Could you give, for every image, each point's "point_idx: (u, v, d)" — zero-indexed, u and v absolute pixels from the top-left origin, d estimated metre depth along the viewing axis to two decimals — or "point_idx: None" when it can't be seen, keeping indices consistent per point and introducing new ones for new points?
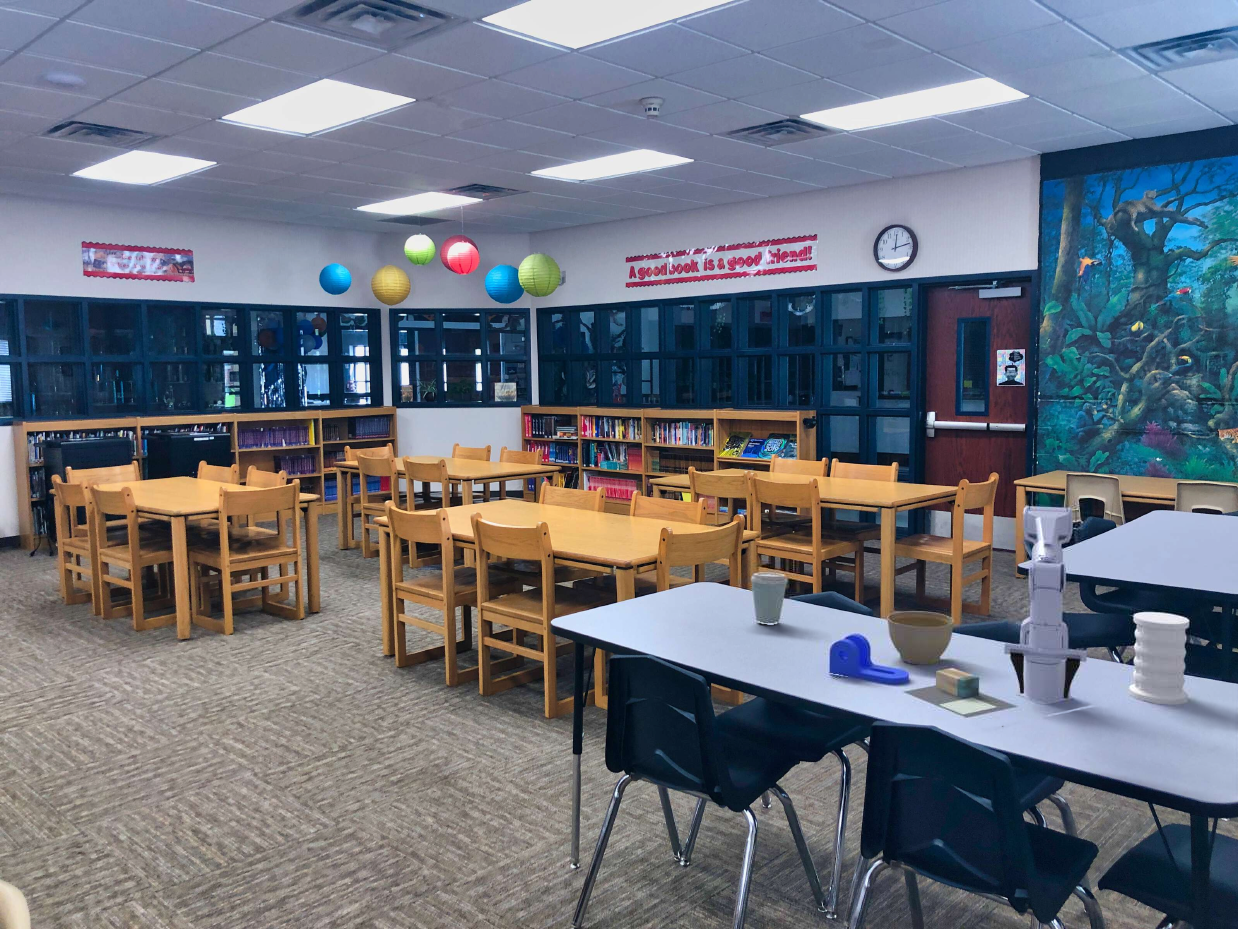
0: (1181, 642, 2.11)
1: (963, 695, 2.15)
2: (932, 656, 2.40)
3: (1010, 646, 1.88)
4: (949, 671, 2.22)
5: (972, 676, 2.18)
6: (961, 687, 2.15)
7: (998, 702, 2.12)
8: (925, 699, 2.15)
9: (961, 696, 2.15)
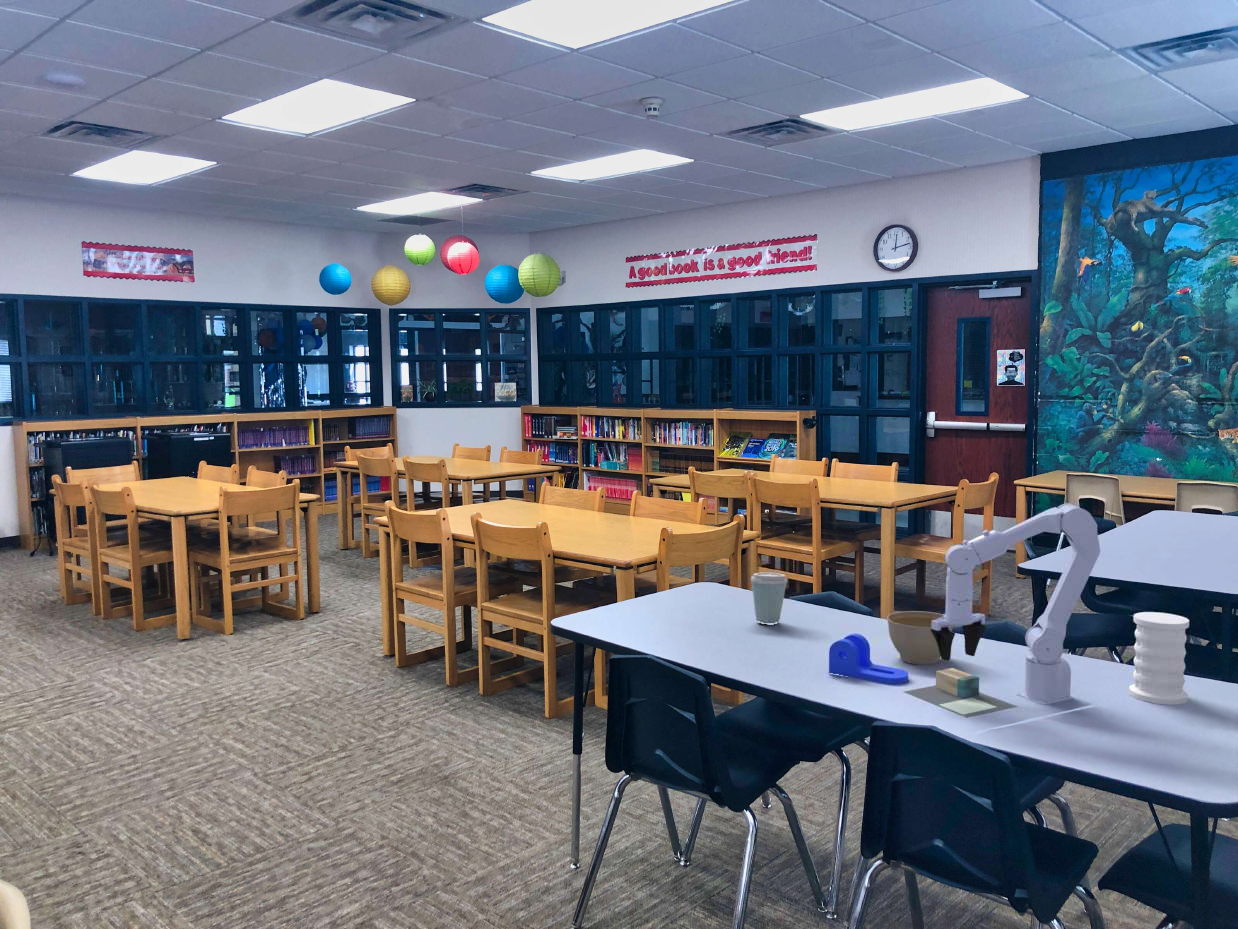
0: (1181, 642, 2.11)
1: (963, 695, 2.15)
2: (932, 656, 2.40)
3: None
4: (949, 671, 2.22)
5: (972, 676, 2.18)
6: (961, 687, 2.15)
7: (998, 702, 2.12)
8: (925, 699, 2.15)
9: (961, 696, 2.15)
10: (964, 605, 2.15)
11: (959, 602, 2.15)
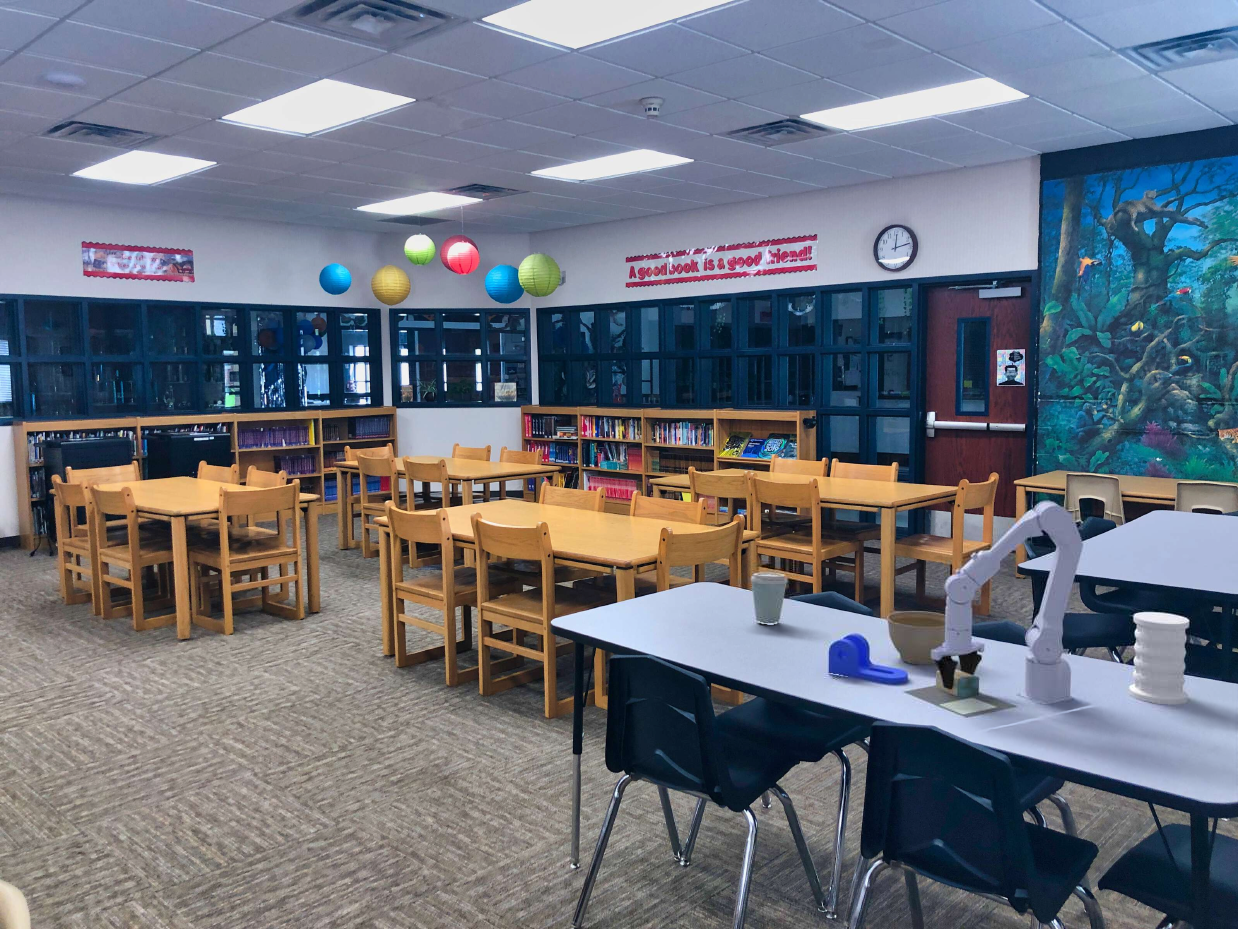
0: (1181, 642, 2.11)
1: (963, 695, 2.15)
2: None
3: None
4: None
5: (972, 676, 2.18)
6: (961, 687, 2.15)
7: (998, 702, 2.12)
8: (925, 699, 2.15)
9: (961, 696, 2.15)
10: (963, 635, 2.16)
11: (958, 632, 2.16)
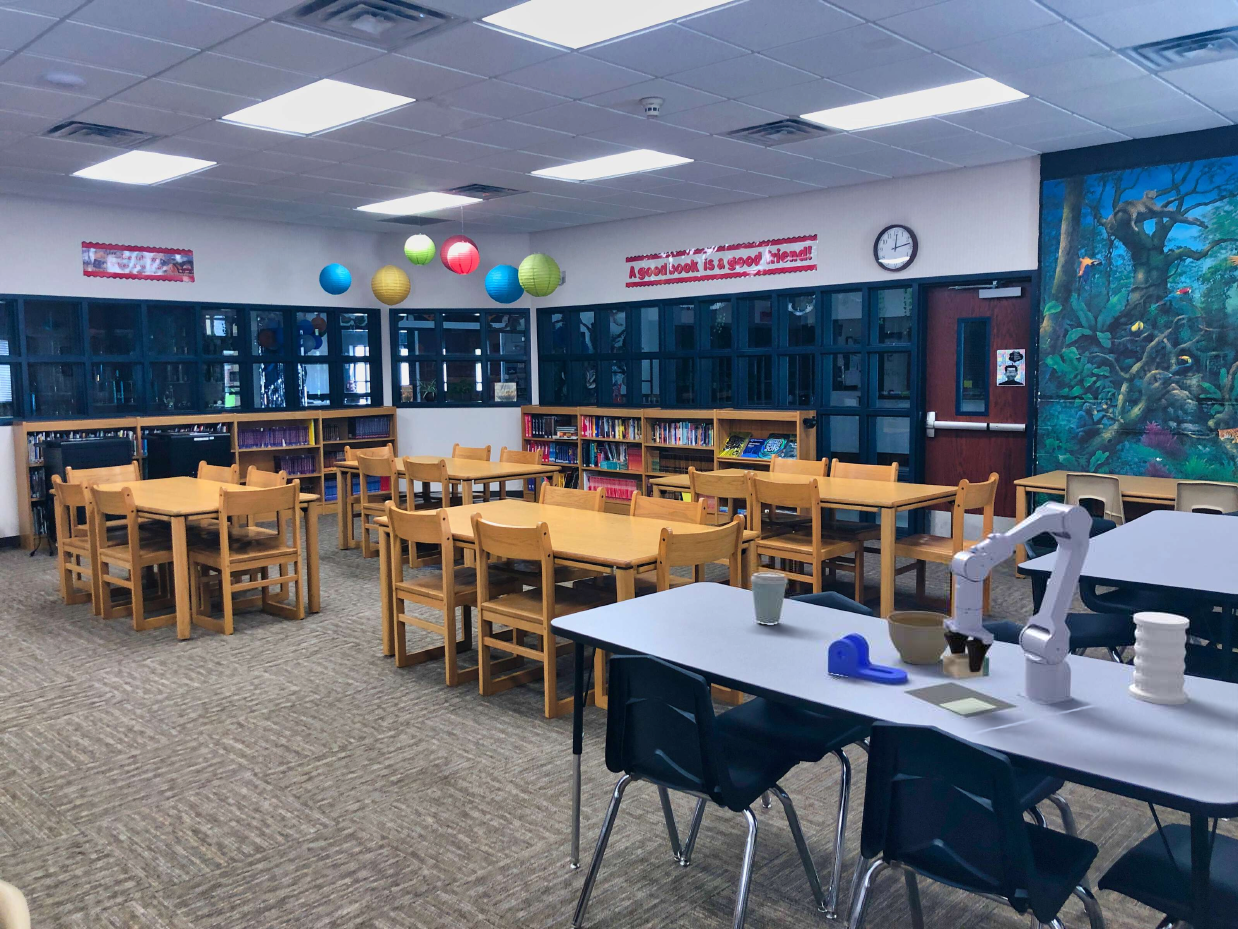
0: (1181, 642, 2.11)
1: None
2: (932, 656, 2.40)
3: (945, 622, 2.15)
4: (955, 657, 2.10)
5: None
6: (987, 666, 2.09)
7: (998, 702, 2.12)
8: (925, 699, 2.15)
9: (987, 674, 2.09)
10: None
11: (981, 609, 2.08)
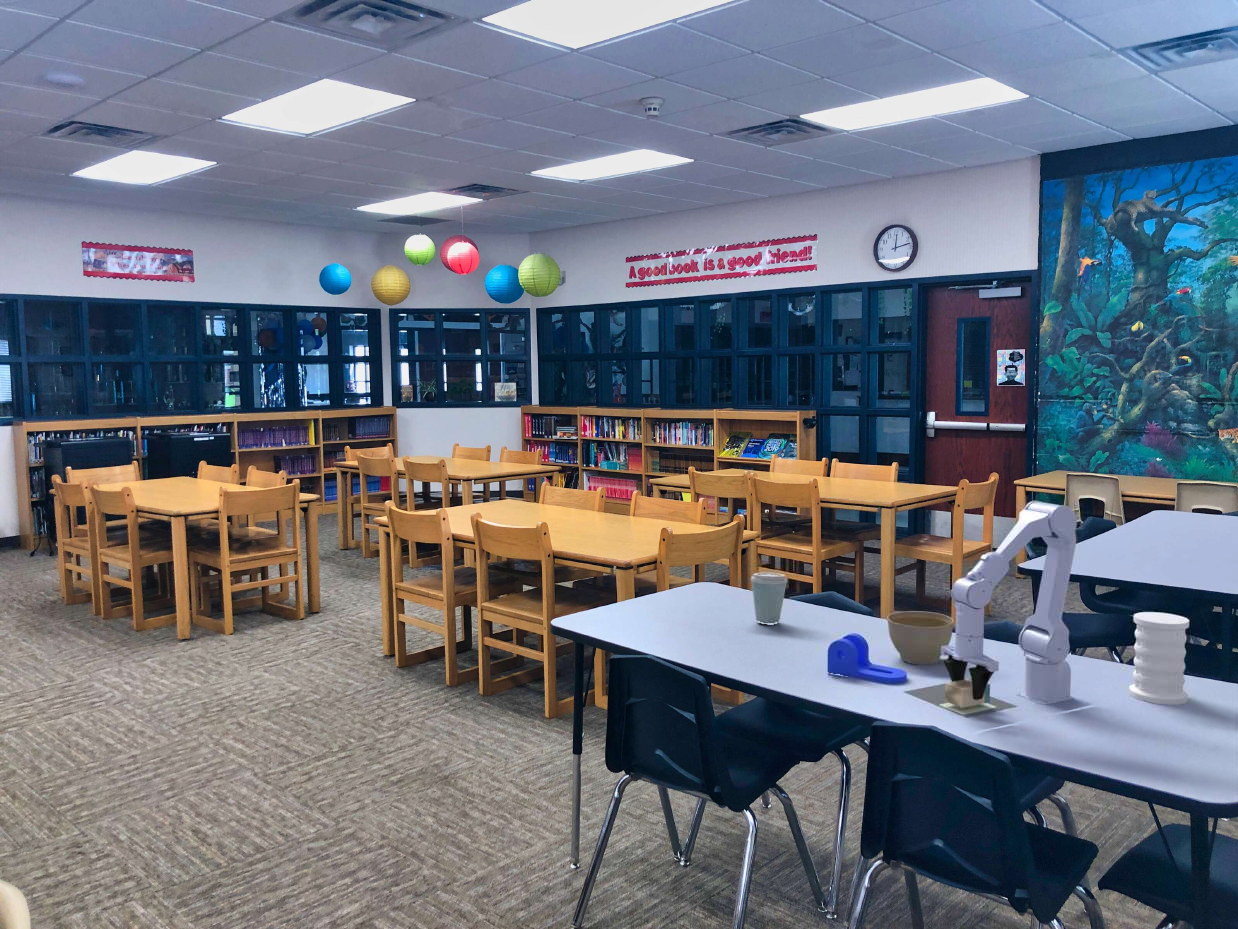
0: (1181, 642, 2.11)
1: None
2: (932, 656, 2.40)
3: (944, 649, 2.14)
4: (958, 685, 2.08)
5: (971, 679, 2.12)
6: (988, 692, 2.09)
7: (998, 702, 2.12)
8: (925, 699, 2.15)
9: (988, 701, 2.09)
10: None
11: (983, 636, 2.08)
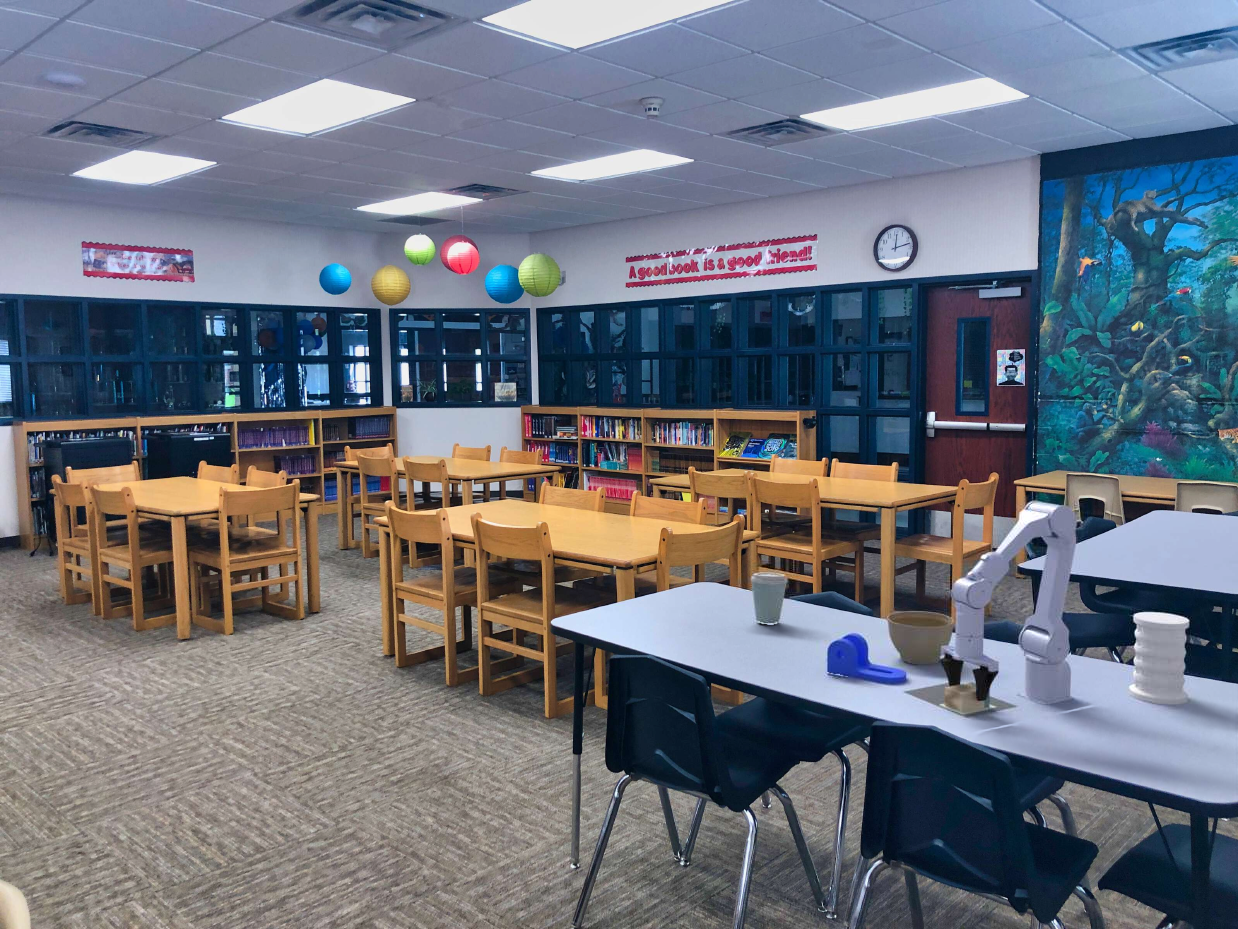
0: (1181, 642, 2.11)
1: None
2: (932, 656, 2.40)
3: (944, 649, 2.14)
4: (957, 689, 2.09)
5: (971, 683, 2.12)
6: (988, 696, 2.09)
7: (998, 702, 2.12)
8: (925, 699, 2.15)
9: (988, 705, 2.09)
10: None
11: (983, 636, 2.08)
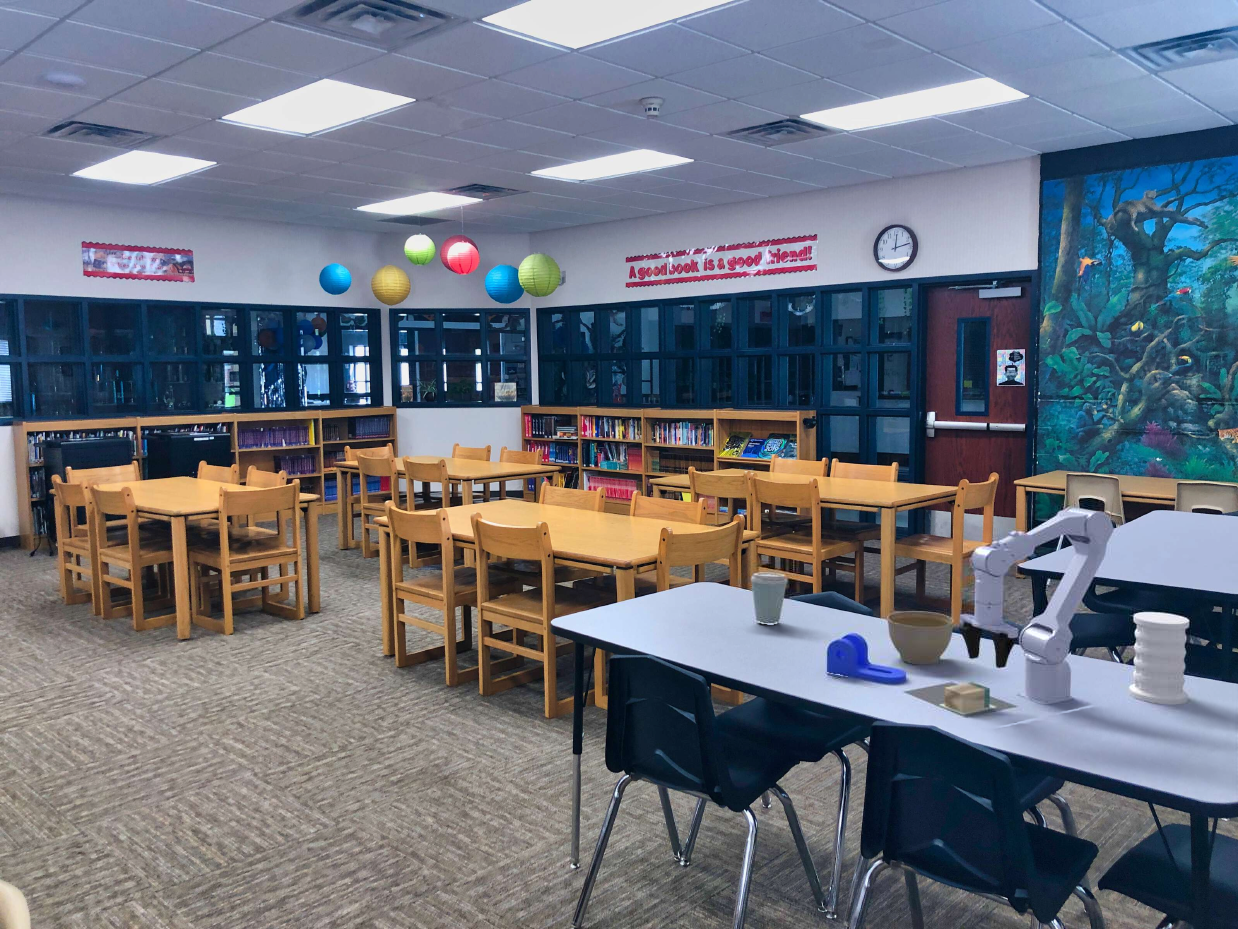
0: (1181, 642, 2.11)
1: None
2: (932, 656, 2.40)
3: (963, 617, 2.16)
4: (957, 689, 2.09)
5: (971, 683, 2.12)
6: (988, 696, 2.09)
7: (998, 702, 2.12)
8: (925, 699, 2.15)
9: (988, 705, 2.09)
10: None
11: None
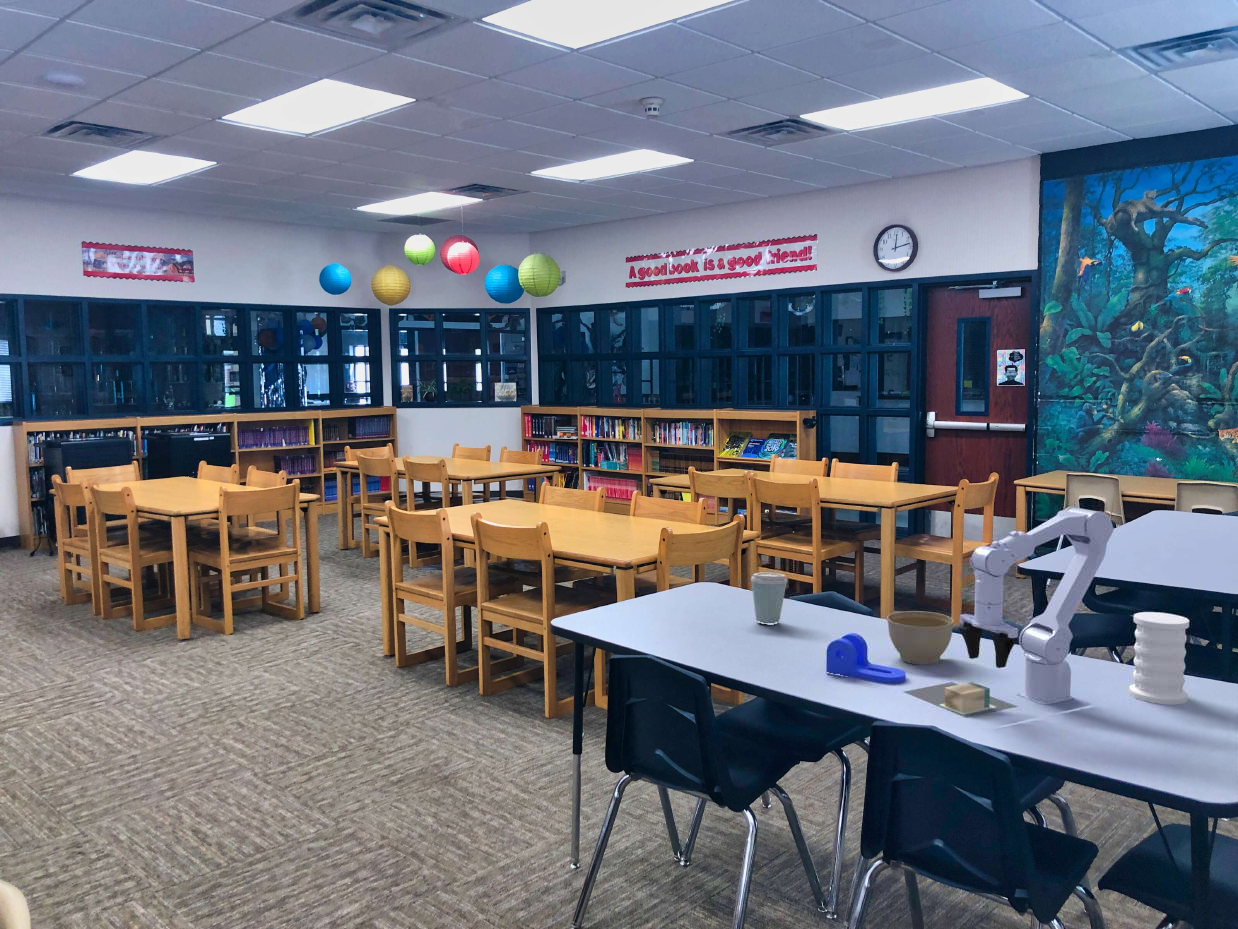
0: (1181, 642, 2.11)
1: None
2: (932, 656, 2.40)
3: (963, 617, 2.16)
4: (957, 689, 2.09)
5: (971, 683, 2.12)
6: (988, 696, 2.09)
7: (998, 702, 2.12)
8: (925, 699, 2.15)
9: (988, 705, 2.09)
10: None
11: None
